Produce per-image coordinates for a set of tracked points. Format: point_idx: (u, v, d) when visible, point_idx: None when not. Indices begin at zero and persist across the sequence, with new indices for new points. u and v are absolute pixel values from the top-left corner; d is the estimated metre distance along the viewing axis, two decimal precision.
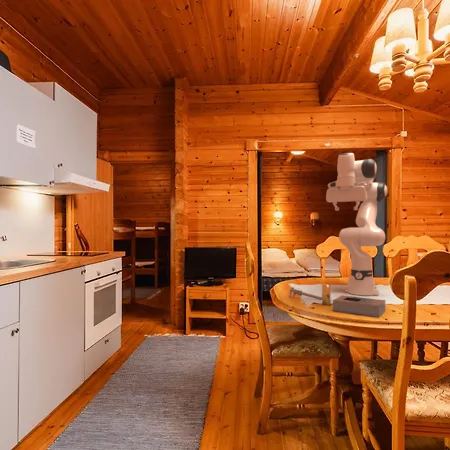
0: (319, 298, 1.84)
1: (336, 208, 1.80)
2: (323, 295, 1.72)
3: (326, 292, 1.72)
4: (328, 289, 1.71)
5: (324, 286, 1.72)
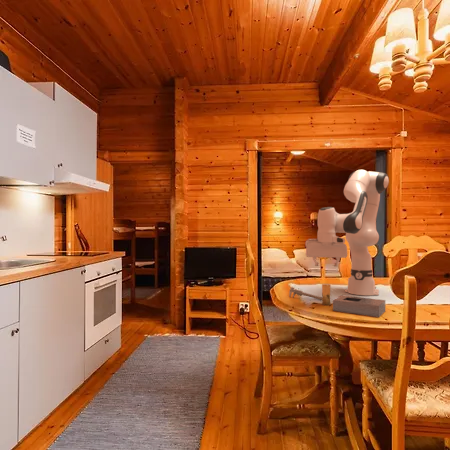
0: (319, 298, 1.84)
1: None
2: (323, 295, 1.72)
3: (326, 292, 1.72)
4: (328, 289, 1.72)
5: (324, 286, 1.72)
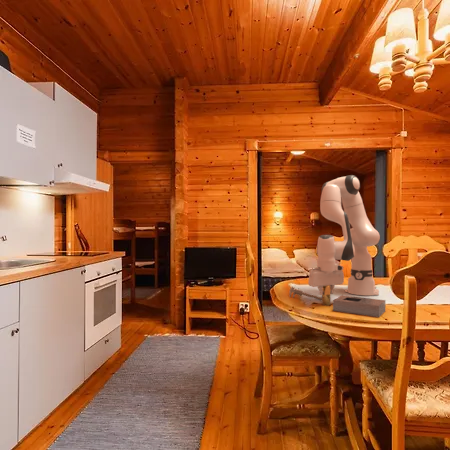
0: (319, 298, 1.84)
1: None
2: (323, 295, 1.72)
3: (326, 292, 1.72)
4: (328, 289, 1.71)
5: (324, 286, 1.72)
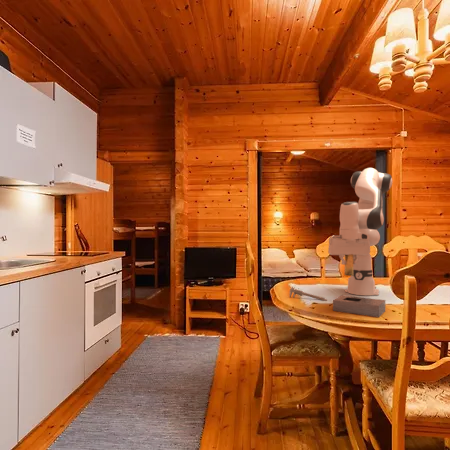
0: (319, 298, 1.84)
1: None
2: (345, 265, 1.63)
3: (348, 262, 1.62)
4: (350, 258, 1.62)
5: (346, 255, 1.63)
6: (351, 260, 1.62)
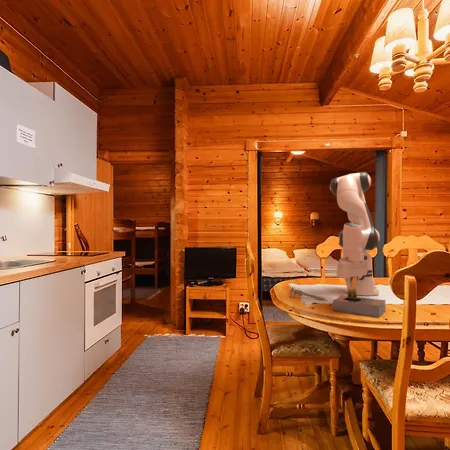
0: (319, 298, 1.84)
1: None
2: (350, 287, 1.61)
3: (353, 284, 1.61)
4: (355, 280, 1.61)
5: (351, 277, 1.61)
6: (356, 282, 1.61)
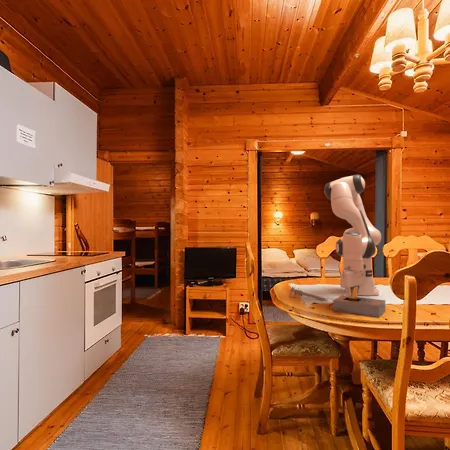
0: (319, 298, 1.84)
1: None
2: (351, 298, 1.61)
3: (354, 294, 1.61)
4: (356, 290, 1.61)
5: (352, 288, 1.61)
6: (356, 293, 1.61)
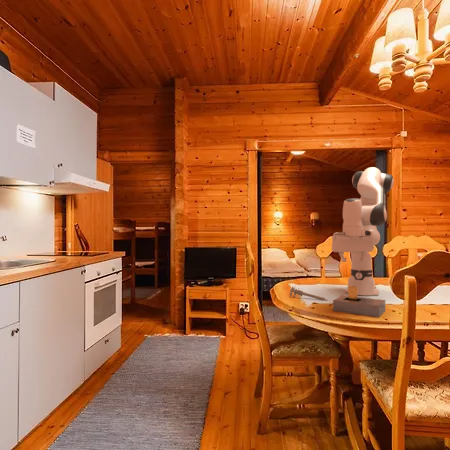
0: (320, 298, 1.84)
1: None
2: (351, 298, 1.61)
3: (354, 294, 1.61)
4: (356, 290, 1.61)
5: (352, 288, 1.61)
6: (356, 293, 1.61)
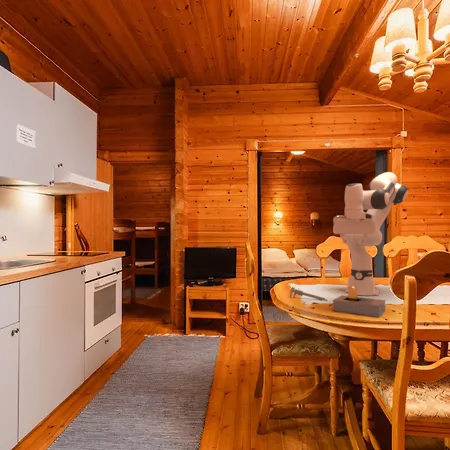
0: (320, 298, 1.84)
1: None
2: (351, 298, 1.61)
3: (354, 294, 1.61)
4: (356, 290, 1.61)
5: (352, 288, 1.61)
6: (356, 293, 1.61)
